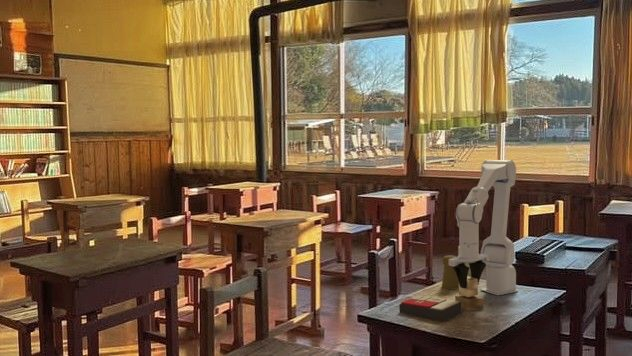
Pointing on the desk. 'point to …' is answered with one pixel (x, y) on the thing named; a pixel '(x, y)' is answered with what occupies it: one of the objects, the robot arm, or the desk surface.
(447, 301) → the calculator
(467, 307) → the walnut base
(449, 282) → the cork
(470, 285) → the beech block
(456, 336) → the desk surface
